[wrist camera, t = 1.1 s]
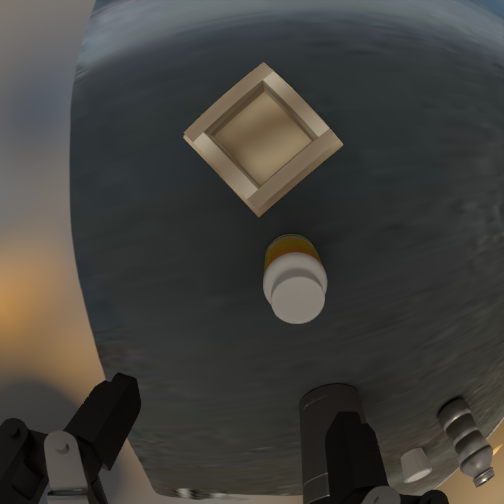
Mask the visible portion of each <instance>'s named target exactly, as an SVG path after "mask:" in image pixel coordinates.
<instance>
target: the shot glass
mask: <svg viewBox="0 0 504 504" xmlns="http://www.w3.org/2000/svg"><path fill="white" fill-rule="evenodd" d="M401 465H402V471H403V477H404V482H405V483H410V482H414V481H416V480H419V479H421V478H423V477H424V476H426V475H428V474H429V473H430V472H431V471H432V467H431V465H430V463H429V461H428V459H427V457H426V455H425V453H424V451H423V449H422V448H415V449H413V450H410V451H408V452H407V453H405V454H404V455H403V456H402V457H401Z"/></svg>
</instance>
